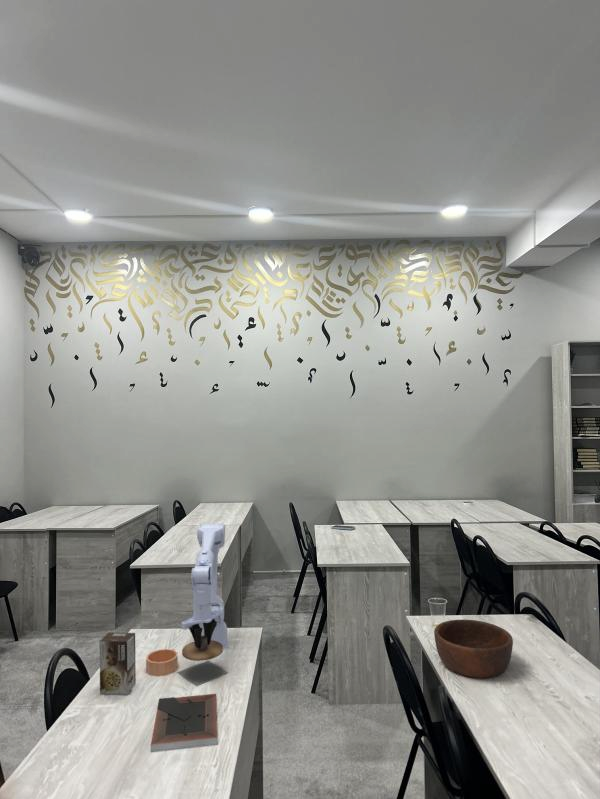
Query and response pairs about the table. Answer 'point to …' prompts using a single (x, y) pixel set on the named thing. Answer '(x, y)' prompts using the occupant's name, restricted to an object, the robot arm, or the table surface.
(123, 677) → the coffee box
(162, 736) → the picture frame
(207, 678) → the mat
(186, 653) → the lid
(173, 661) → the bowl
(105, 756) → the table surface
